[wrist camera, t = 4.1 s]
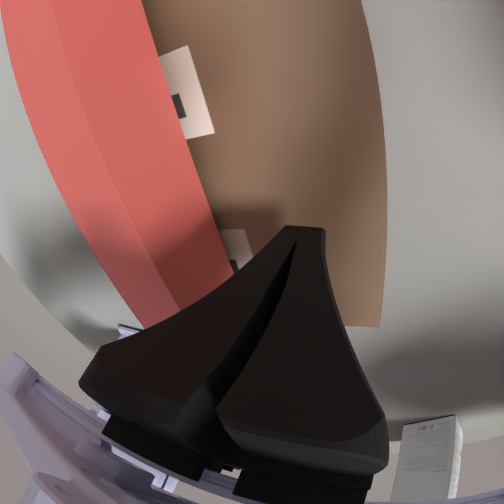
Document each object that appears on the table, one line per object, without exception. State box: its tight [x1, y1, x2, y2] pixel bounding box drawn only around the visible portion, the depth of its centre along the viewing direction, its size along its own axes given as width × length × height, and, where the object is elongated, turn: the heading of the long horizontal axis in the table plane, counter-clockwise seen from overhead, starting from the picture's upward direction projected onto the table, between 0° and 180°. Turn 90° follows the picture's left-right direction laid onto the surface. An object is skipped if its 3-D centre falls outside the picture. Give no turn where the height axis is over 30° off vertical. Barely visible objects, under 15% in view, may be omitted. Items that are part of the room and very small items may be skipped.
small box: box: [390, 415, 463, 502], centre depth 19 cm, size 8×6×13 cm
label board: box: [141, 0, 387, 327], centre depth 11 cm, size 17×23×1 cm
